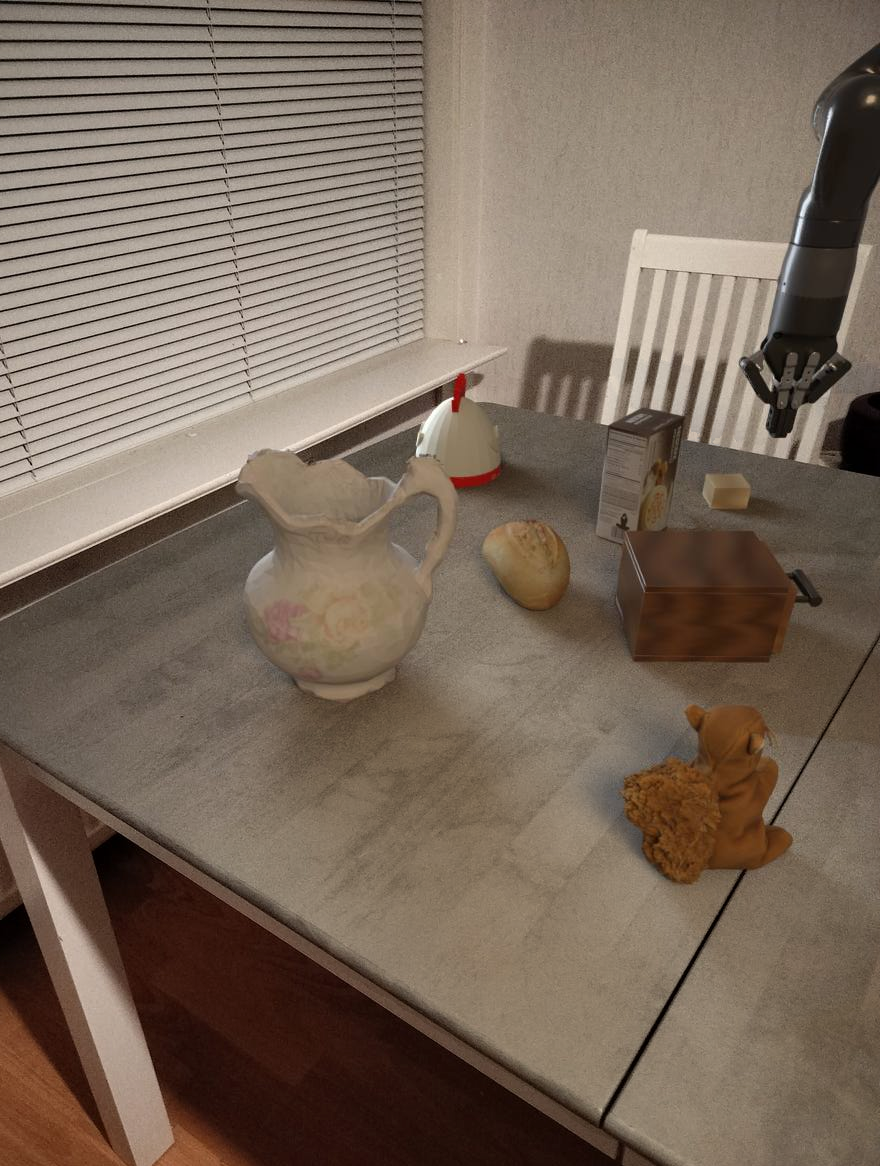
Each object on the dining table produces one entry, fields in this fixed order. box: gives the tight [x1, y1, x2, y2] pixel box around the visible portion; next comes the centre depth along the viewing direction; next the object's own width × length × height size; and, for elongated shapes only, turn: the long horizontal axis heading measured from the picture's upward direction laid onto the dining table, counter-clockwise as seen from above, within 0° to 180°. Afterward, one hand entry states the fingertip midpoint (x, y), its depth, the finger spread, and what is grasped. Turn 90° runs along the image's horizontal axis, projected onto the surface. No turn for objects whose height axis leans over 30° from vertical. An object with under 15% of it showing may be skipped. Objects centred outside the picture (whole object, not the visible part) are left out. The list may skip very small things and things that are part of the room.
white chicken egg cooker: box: [415, 372, 502, 488], centre depth 134 cm, size 14×14×15 cm
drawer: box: [759, 539, 823, 653], centre depth 95 cm, size 18×11×8 cm, turn 87°
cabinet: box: [614, 530, 790, 663], centre depth 95 cm, size 15×13×10 cm
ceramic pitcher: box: [234, 447, 459, 704], centre depth 87 cm, size 22×20×25 cm
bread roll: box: [481, 518, 571, 611], centre depth 105 cm, size 10×15×8 cm, turn 18°
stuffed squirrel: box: [618, 703, 794, 886], centre depth 68 cm, size 10×14×13 cm
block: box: [701, 473, 752, 510], centre depth 122 cm, size 5×5×5 cm
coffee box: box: [595, 407, 686, 545], centre depth 114 cm, size 9×6×16 cm
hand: (777, 435), depth 105 cm, fingers closed
